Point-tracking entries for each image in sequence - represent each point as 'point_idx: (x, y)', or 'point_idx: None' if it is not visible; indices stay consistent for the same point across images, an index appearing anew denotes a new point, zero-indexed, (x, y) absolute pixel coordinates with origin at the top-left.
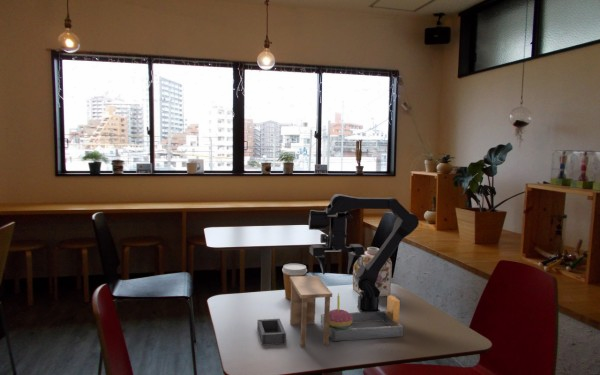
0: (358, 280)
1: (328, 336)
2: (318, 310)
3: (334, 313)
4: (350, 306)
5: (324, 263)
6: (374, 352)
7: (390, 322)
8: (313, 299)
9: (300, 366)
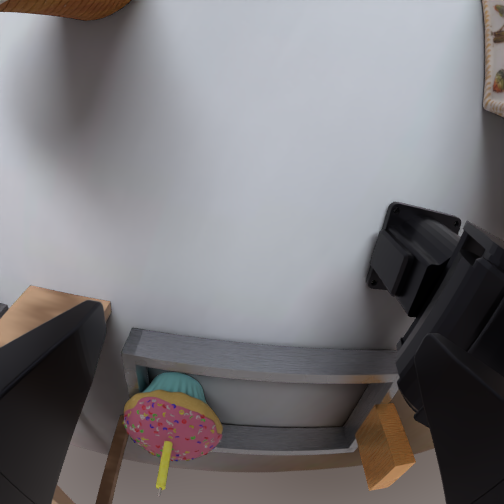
0: (414, 390)
1: (126, 441)
2: (162, 184)
3: (147, 447)
4: (365, 179)
5: (46, 492)
6: (231, 459)
7: (366, 407)
8: None
9: (73, 442)
